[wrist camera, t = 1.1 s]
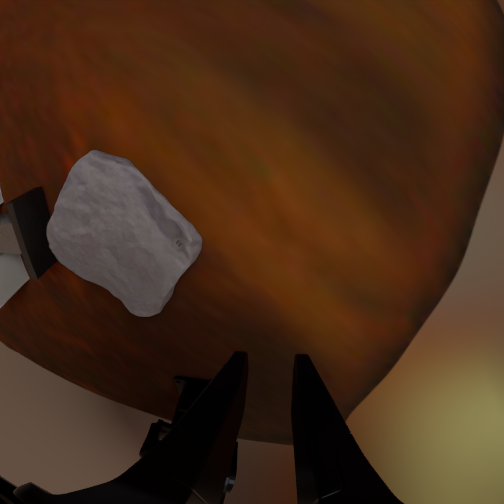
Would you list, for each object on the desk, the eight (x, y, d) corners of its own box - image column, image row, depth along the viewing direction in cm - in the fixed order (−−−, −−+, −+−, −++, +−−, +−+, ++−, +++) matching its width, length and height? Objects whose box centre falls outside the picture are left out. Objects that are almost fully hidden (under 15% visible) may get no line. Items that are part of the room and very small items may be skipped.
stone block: (106, 134, 19) (60, 233, 22) (76, 134, 15) (31, 252, 18) (226, 214, 22) (164, 303, 25) (223, 232, 18) (151, 336, 21)
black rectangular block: (61, 257, 23) (29, 287, 18) (12, 254, 24) (-17, 278, 19) (41, 186, 19) (1, 209, 15) (-6, 196, 20) (-39, 216, 16)
